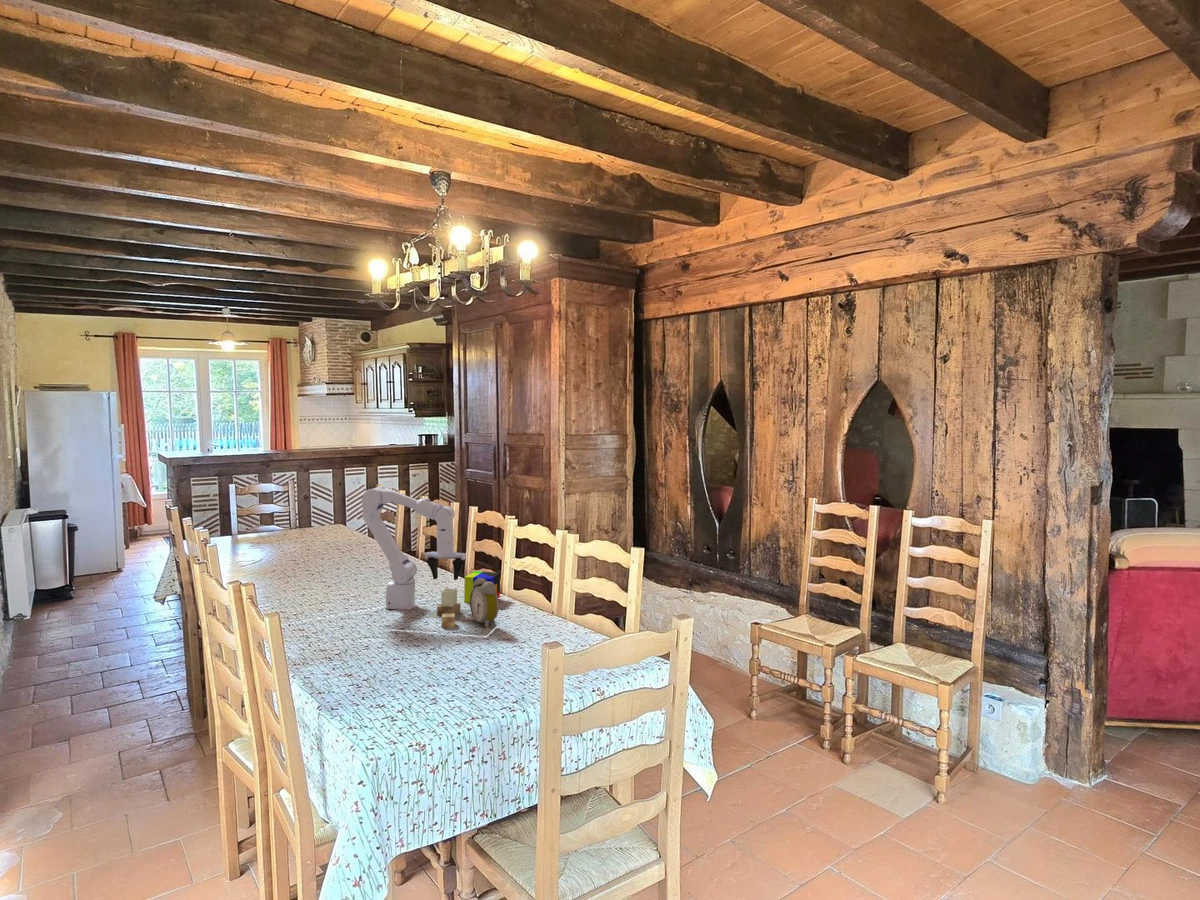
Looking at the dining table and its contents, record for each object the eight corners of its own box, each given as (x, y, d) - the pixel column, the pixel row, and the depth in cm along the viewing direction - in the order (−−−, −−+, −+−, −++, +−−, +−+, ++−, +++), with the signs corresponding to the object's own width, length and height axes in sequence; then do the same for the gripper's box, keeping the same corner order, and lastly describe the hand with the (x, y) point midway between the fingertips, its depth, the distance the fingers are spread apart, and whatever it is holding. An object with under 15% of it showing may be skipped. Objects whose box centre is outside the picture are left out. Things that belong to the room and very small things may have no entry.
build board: (424, 618, 237) (424, 617, 237) (439, 609, 248) (439, 607, 248) (459, 621, 235) (459, 619, 235) (471, 611, 246) (471, 610, 246)
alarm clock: (468, 622, 234) (469, 577, 233) (487, 619, 238) (488, 575, 237) (484, 631, 224) (484, 584, 224) (503, 628, 228) (504, 582, 227)
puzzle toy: (490, 606, 254) (490, 578, 254) (464, 604, 256) (464, 576, 256) (499, 599, 264) (500, 572, 264) (474, 597, 266) (474, 571, 266)
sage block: (441, 605, 240) (441, 591, 240) (446, 602, 244) (446, 588, 243) (452, 606, 239) (452, 592, 239) (457, 603, 243) (457, 589, 243)
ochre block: (441, 629, 226) (441, 617, 225) (442, 626, 229) (442, 613, 229) (454, 629, 226) (454, 617, 226) (454, 625, 230) (454, 613, 230)
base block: (437, 615, 239) (437, 606, 239) (443, 610, 245) (443, 602, 245) (453, 616, 238) (454, 607, 238) (460, 611, 244) (460, 603, 244)
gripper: (421, 542, 246) (421, 580, 247) (460, 543, 244) (461, 582, 245) (429, 538, 253) (429, 576, 254) (467, 539, 251) (468, 577, 251)
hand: (445, 579), depth 250 cm, fingers open, 7 cm apart
